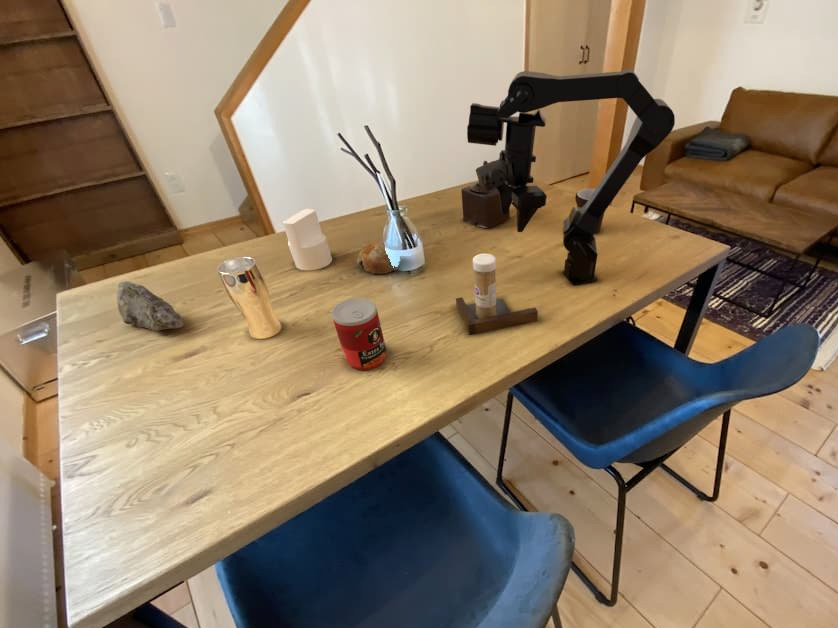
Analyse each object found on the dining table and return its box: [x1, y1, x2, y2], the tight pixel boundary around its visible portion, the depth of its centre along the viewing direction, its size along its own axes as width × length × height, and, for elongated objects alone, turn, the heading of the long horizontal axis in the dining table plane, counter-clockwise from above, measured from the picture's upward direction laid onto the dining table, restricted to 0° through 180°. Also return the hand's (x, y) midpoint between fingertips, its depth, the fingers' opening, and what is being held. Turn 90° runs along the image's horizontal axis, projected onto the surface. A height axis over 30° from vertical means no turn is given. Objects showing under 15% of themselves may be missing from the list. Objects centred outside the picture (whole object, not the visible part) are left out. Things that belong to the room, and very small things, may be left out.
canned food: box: [331, 297, 387, 371], centre depth 80 cm, size 8×8×11 cm
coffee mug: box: [575, 188, 606, 235], centre depth 123 cm, size 12×9×10 cm
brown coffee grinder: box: [460, 160, 511, 229], centre depth 124 cm, size 16×11×18 cm
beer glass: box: [216, 256, 282, 340], centre depth 85 cm, size 7×7×15 cm
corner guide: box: [455, 296, 539, 336], centre depth 93 cm, size 15×10×2 cm
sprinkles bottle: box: [472, 253, 497, 319], centre depth 89 cm, size 5×5×14 cm
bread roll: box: [356, 240, 399, 275], centre depth 109 cm, size 10×10×8 cm
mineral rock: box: [116, 280, 184, 332], centre depth 88 cm, size 13×11×10 cm
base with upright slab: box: [282, 208, 333, 271], centre depth 108 cm, size 9×9×12 cm
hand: (511, 223), depth 98 cm, fingers open, 9 cm apart
